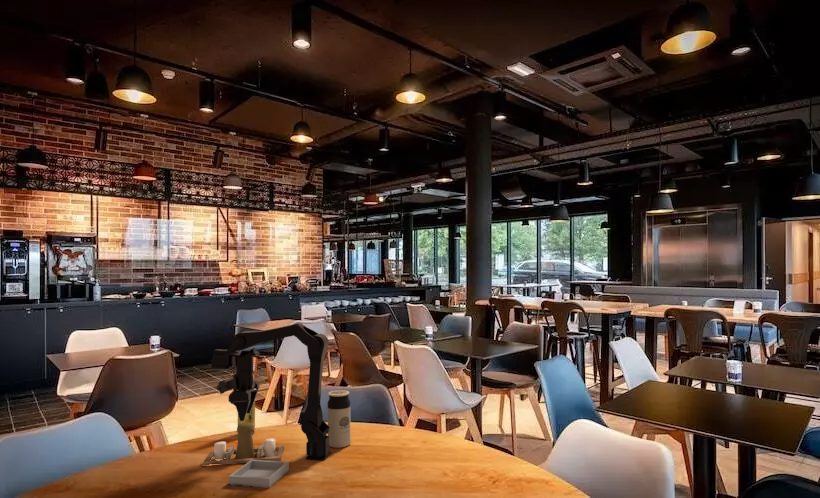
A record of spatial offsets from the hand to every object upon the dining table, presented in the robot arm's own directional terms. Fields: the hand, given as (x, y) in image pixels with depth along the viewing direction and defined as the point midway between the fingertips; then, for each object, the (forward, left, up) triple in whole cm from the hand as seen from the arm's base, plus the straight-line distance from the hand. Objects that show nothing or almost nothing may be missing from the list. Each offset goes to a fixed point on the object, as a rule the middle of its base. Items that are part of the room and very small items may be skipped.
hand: (245, 416), depth 163 cm
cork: (0, +1, -13) cm, 13 cm away
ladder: (0, +1, -13) cm, 13 cm away
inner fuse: (-8, -2, -13) cm, 15 cm away
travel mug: (-27, -15, -13) cm, 34 cm away
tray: (-13, +15, -13) cm, 24 cm away
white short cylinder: (+7, +3, -13) cm, 15 cm away
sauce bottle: (+12, -21, -13) cm, 28 cm away
